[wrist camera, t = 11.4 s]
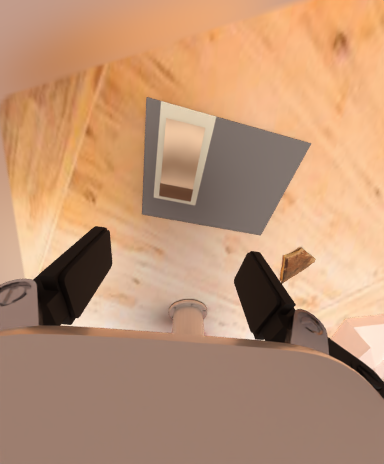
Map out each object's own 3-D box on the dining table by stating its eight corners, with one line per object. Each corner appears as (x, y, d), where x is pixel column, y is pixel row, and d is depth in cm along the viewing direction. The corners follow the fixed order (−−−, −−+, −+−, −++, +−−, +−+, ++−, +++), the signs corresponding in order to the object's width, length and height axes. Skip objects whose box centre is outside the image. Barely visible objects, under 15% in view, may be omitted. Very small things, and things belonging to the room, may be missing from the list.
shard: (278, 280, 43) (282, 285, 41) (261, 269, 40) (264, 274, 39) (313, 256, 38) (318, 261, 37) (296, 243, 36) (301, 247, 34)
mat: (259, 233, 33) (260, 235, 33) (142, 213, 30) (141, 214, 29) (308, 143, 24) (311, 143, 23) (147, 98, 21) (146, 96, 20)
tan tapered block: (169, 121, 21) (165, 117, 18) (202, 129, 22) (205, 127, 19) (162, 188, 27) (159, 195, 23) (190, 193, 27) (190, 201, 24)
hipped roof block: (343, 317, 55) (370, 347, 47) (408, 309, 53) (447, 339, 45) (313, 361, 79) (328, 386, 70) (357, 356, 77) (377, 381, 69)
